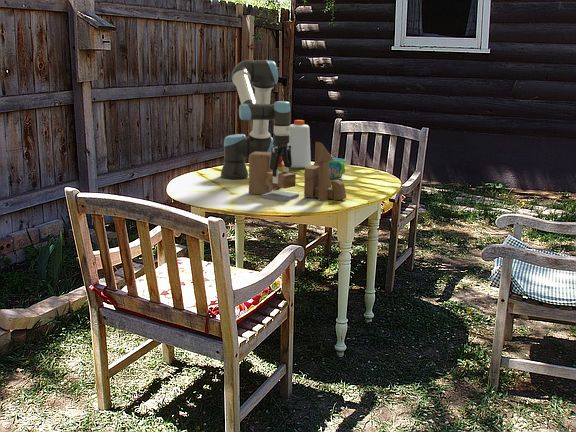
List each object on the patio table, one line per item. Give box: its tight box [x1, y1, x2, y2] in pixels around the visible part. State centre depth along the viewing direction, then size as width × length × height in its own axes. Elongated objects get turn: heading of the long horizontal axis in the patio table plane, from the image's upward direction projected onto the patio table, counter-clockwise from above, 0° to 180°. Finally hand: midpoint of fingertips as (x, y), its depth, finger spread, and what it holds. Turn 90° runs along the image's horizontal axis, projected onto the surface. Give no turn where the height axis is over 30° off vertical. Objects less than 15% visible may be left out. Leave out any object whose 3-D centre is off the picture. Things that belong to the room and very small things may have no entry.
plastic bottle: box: [287, 119, 312, 169], centre depth 408 cm, size 15×15×28 cm
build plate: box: [261, 190, 300, 202], centre depth 323 cm, size 13×13×2 cm
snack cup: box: [329, 157, 346, 179], centre depth 377 cm, size 16×10×10 cm
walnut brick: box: [266, 171, 297, 189], centre depth 321 cm, size 12×8×6 cm, turn 51°
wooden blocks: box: [303, 141, 348, 202], centre depth 323 cm, size 24×20×28 cm
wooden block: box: [248, 152, 274, 196], centre depth 329 cm, size 10×10×20 cm
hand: (280, 181), depth 321 cm, fingers closed on walnut brick, 8 cm apart
